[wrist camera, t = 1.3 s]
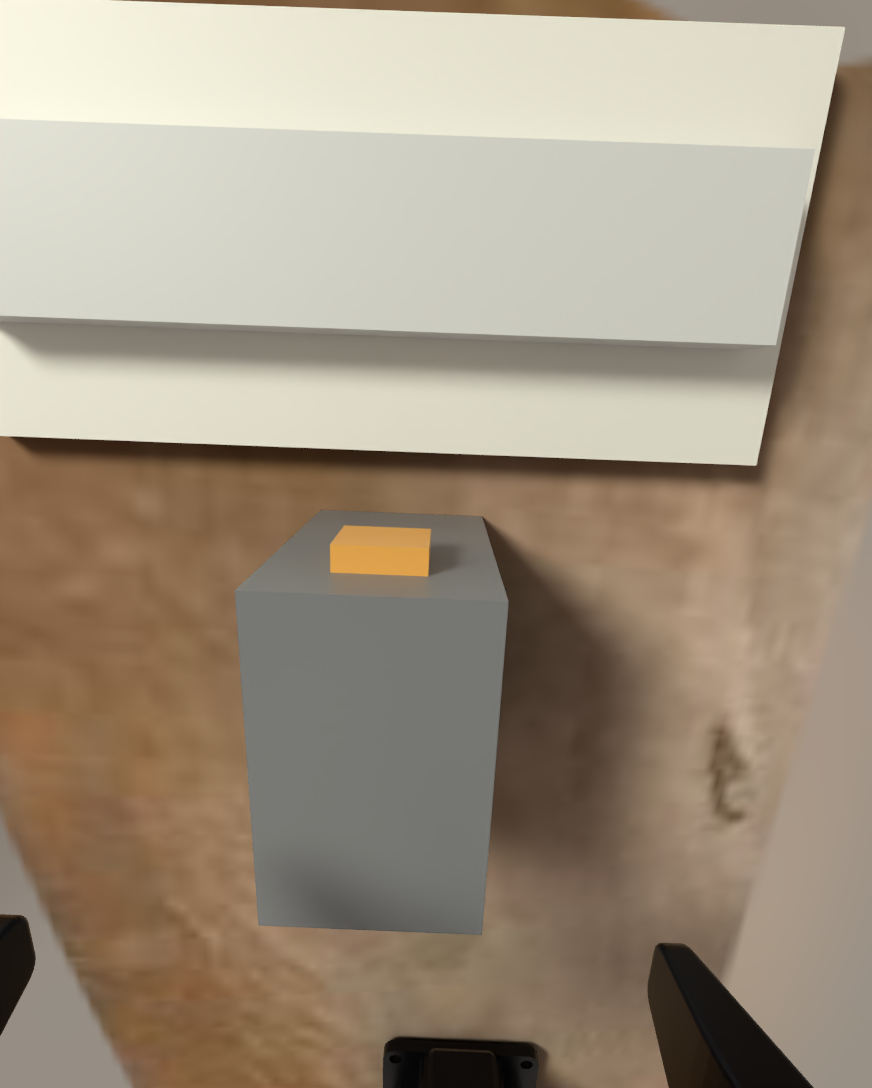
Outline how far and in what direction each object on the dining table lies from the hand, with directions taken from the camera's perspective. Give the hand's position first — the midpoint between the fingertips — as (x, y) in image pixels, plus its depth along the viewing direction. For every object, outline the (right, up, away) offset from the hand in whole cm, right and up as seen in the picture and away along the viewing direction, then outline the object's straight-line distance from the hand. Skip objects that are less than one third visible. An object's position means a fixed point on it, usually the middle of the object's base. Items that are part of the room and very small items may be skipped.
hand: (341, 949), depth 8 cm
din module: (0, +3, +10) cm, 10 cm away
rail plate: (0, +13, +7) cm, 15 cm away
